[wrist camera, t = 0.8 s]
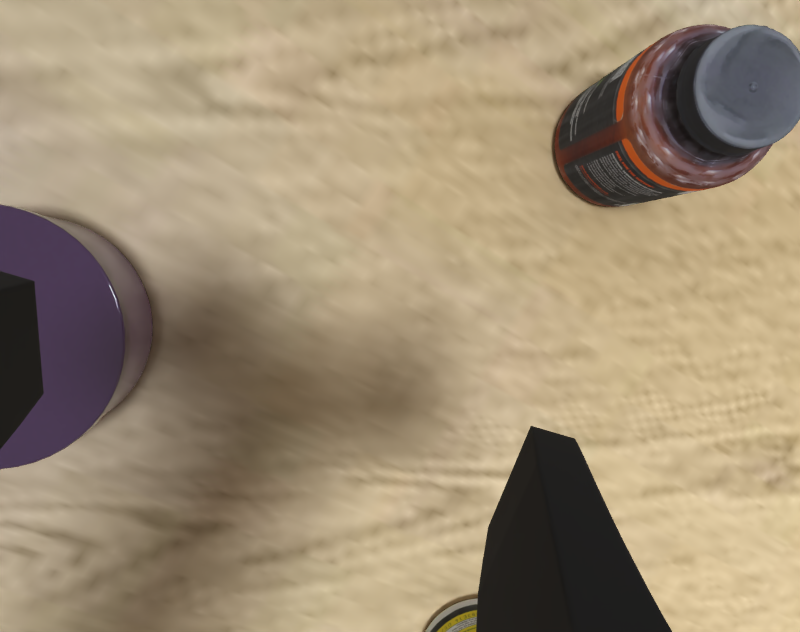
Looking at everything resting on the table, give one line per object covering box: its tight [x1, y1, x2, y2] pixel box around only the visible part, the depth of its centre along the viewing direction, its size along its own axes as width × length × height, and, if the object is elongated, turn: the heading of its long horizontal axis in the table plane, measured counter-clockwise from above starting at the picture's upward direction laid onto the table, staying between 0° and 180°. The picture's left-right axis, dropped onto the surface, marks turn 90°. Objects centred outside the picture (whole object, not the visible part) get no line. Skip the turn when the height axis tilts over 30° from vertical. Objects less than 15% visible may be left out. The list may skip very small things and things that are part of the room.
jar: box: [0, 205, 152, 469], centre depth 28 cm, size 10×10×5 cm
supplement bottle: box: [555, 25, 800, 207], centre depth 27 cm, size 6×6×11 cm
